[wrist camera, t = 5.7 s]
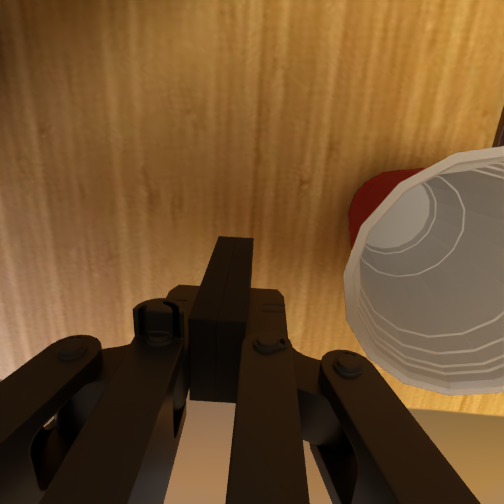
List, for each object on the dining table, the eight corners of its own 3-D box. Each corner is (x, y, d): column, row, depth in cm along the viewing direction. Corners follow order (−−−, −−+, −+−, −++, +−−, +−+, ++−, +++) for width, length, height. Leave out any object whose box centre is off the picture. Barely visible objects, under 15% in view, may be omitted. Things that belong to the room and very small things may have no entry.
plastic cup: (411, 89, 22) (559, 70, 11) (497, 215, 25) (685, 301, 14) (278, 203, 25) (289, 279, 14) (368, 304, 28) (438, 434, 17)
